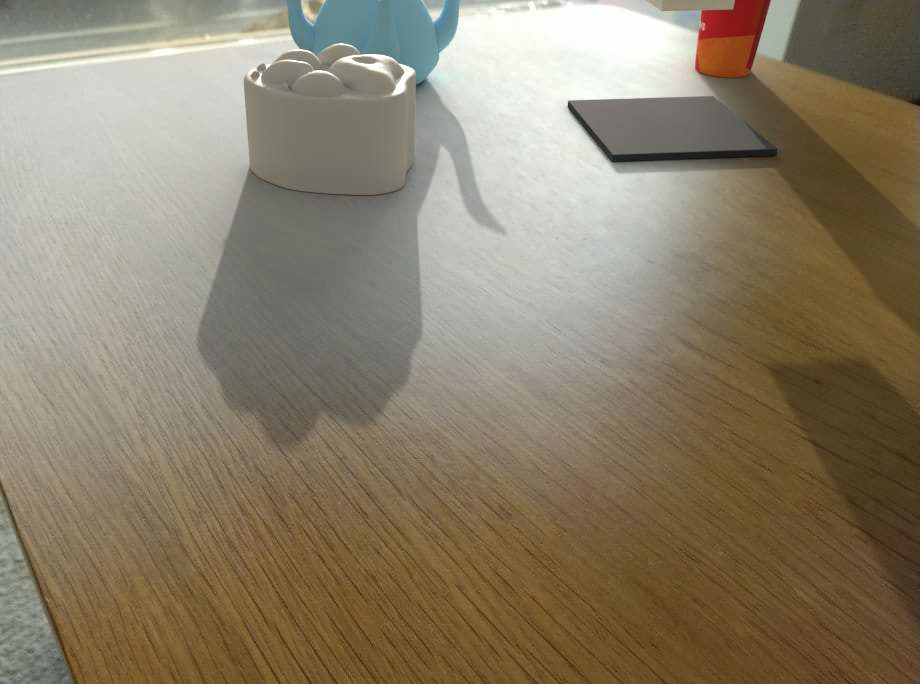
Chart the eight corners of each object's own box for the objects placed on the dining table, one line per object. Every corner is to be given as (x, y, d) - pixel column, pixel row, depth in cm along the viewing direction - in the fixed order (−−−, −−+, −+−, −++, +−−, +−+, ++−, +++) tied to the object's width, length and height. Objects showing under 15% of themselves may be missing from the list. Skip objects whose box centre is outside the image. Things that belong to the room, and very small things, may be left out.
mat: (712, 102, 93) (713, 95, 92) (776, 155, 81) (778, 148, 81) (567, 106, 91) (567, 100, 91) (611, 161, 80) (612, 154, 80)
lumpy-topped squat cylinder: (398, 198, 74) (400, 82, 69) (232, 186, 75) (222, 72, 71) (419, 150, 82) (422, 43, 77) (269, 139, 84) (262, 34, 79)
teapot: (368, 48, 107) (367, -54, 101) (480, 74, 99) (486, -35, 93) (273, 79, 98) (265, -31, 92) (388, 110, 90) (388, -8, 84)
